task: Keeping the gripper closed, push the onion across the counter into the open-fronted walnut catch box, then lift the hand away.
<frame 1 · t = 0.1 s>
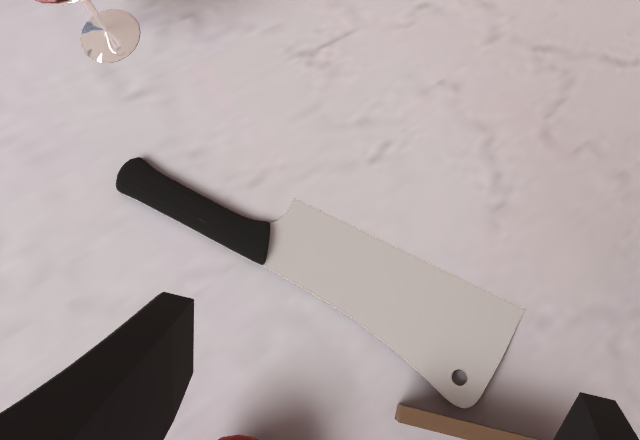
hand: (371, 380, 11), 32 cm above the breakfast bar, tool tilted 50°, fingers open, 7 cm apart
kitchen cleaver: (312, 247, 46), on the breakfast bar
wineglass: (111, 37, 51), on the breakfast bar
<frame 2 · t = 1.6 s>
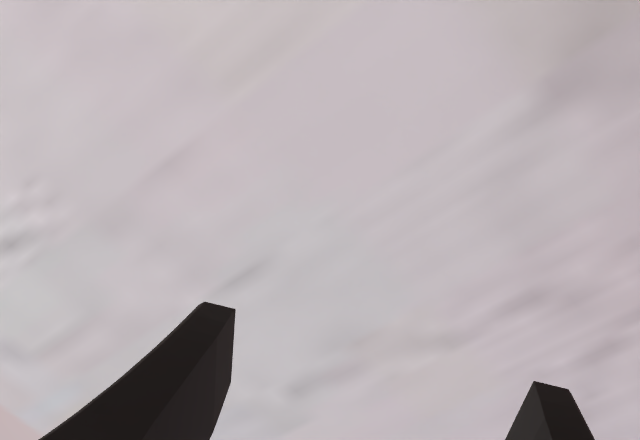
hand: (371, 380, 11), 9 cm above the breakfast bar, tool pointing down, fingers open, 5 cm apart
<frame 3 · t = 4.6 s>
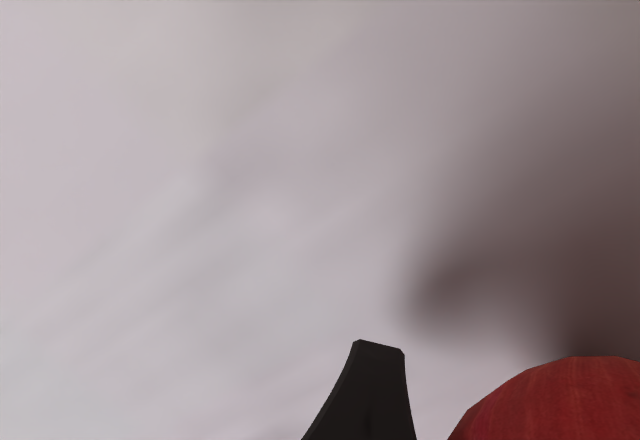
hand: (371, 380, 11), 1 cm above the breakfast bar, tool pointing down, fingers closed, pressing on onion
onion: (574, 368, 12), on the breakfast bar, touching gripper
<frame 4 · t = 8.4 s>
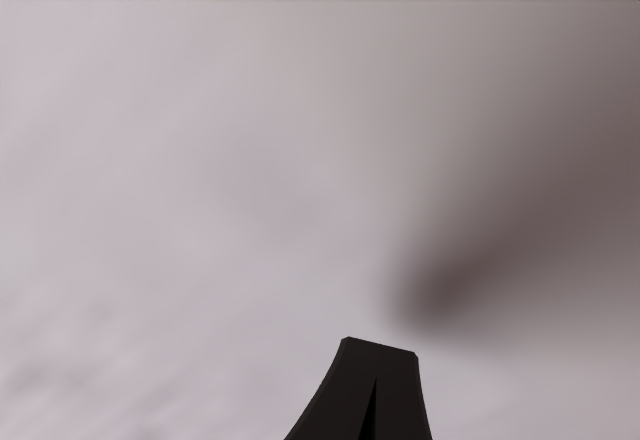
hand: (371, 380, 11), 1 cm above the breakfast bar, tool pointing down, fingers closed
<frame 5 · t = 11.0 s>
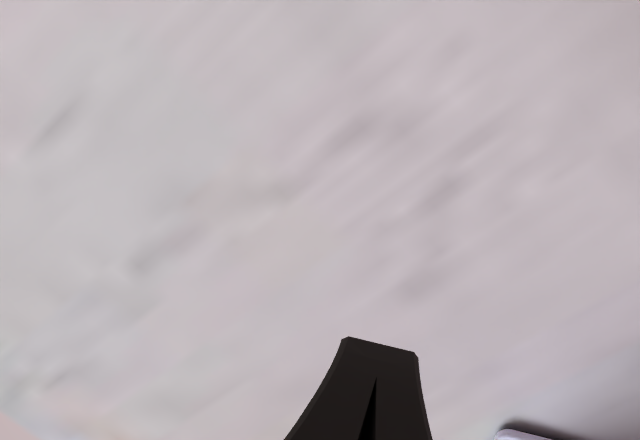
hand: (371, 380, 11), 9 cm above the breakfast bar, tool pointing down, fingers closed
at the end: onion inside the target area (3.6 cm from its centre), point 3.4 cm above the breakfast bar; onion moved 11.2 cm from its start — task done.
